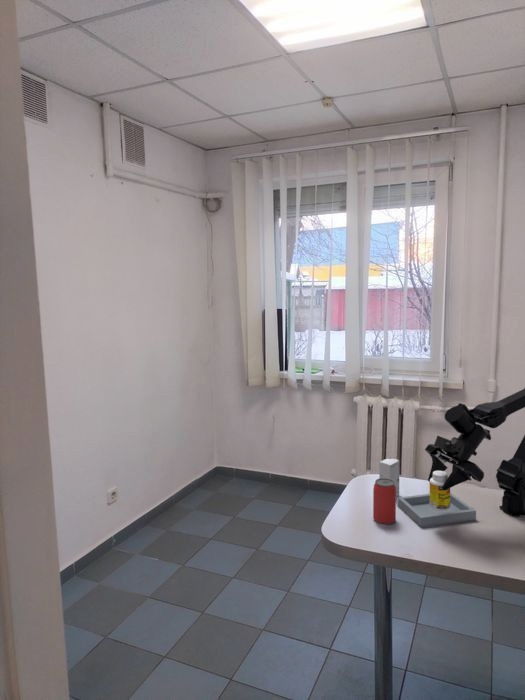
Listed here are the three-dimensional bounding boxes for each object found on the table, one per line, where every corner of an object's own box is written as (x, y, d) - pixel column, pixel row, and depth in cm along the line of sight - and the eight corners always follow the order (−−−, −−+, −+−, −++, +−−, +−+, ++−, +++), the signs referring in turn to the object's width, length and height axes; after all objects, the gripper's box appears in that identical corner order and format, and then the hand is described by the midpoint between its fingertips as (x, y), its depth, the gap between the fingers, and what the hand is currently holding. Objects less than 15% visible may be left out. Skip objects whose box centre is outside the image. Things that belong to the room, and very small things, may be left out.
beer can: (399, 519, 146) (400, 481, 145) (388, 527, 141) (389, 488, 140) (380, 512, 151) (380, 475, 149) (369, 520, 146) (369, 482, 144)
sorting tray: (448, 500, 158) (448, 491, 158) (475, 520, 144) (476, 510, 144) (397, 506, 154) (397, 497, 154) (420, 527, 141) (420, 517, 140)
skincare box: (390, 500, 159) (390, 465, 157) (378, 496, 162) (378, 461, 160) (400, 494, 163) (400, 460, 161) (388, 491, 166) (388, 457, 164)
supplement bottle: (437, 513, 136) (437, 478, 134) (425, 504, 141) (425, 471, 140) (454, 509, 137) (454, 475, 136) (442, 501, 142) (442, 468, 141)
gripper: (430, 417, 146) (399, 458, 144) (476, 435, 128) (441, 482, 126) (451, 439, 150) (421, 479, 147) (499, 458, 132) (465, 505, 130)
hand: (435, 485), depth 138 cm, fingers closed on supplement bottle, 5 cm apart
